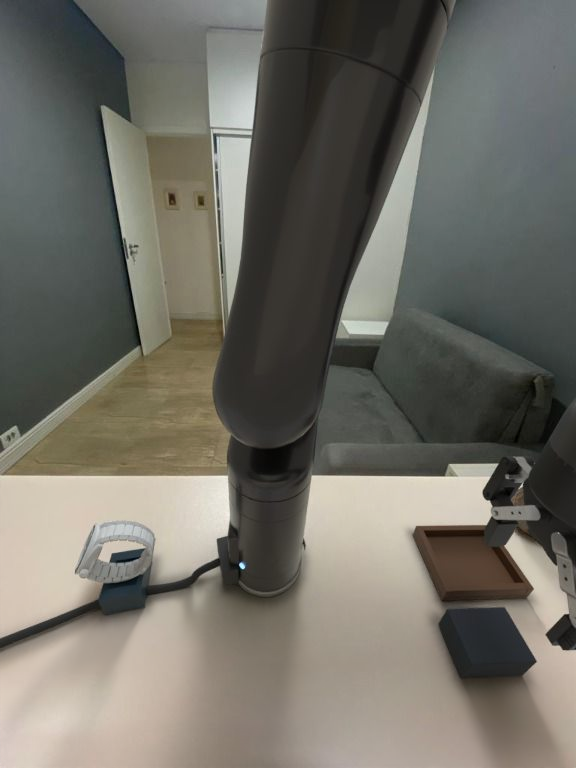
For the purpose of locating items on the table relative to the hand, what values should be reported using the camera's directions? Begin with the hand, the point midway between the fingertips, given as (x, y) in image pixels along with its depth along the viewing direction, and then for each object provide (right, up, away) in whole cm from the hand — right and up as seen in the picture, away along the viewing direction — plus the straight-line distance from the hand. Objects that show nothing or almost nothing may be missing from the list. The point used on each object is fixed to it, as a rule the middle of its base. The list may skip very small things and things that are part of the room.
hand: (522, 586), depth 29 cm
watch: (-42, -6, +9) cm, 43 cm away
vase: (+16, -4, +20) cm, 26 cm away
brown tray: (+3, -6, +14) cm, 16 cm away
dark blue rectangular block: (-1, -11, +6) cm, 12 cm away
